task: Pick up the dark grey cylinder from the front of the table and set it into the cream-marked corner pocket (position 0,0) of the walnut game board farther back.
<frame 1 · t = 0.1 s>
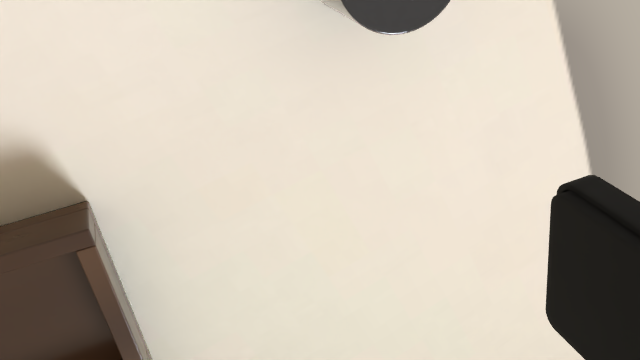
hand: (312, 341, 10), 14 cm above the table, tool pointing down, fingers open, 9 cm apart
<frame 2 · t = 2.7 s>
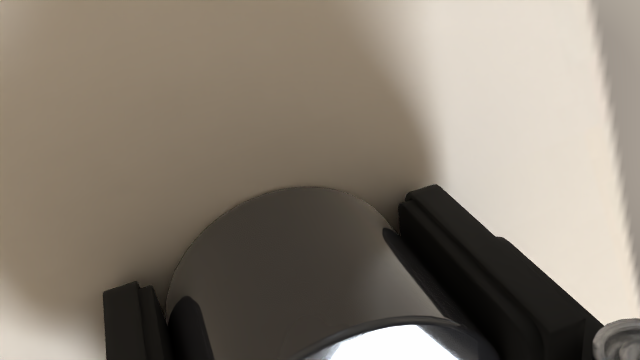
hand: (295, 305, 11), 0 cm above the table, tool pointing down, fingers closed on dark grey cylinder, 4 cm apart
dark grey cylinder: (289, 293, 11), on the table, touching gripper
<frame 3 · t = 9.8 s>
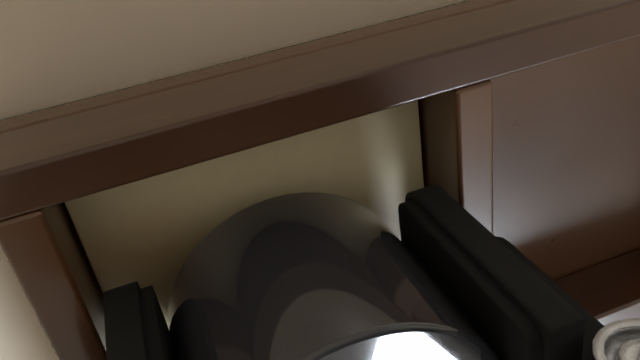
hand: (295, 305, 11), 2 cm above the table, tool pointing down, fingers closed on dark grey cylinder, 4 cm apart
dark grey cylinder: (290, 297, 11), point 2 cm above the table, touching gripper
when the fingers open (3 cm above the table, at t = 18.2 s): dark grey cylinder drops 2 cm, resting on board.
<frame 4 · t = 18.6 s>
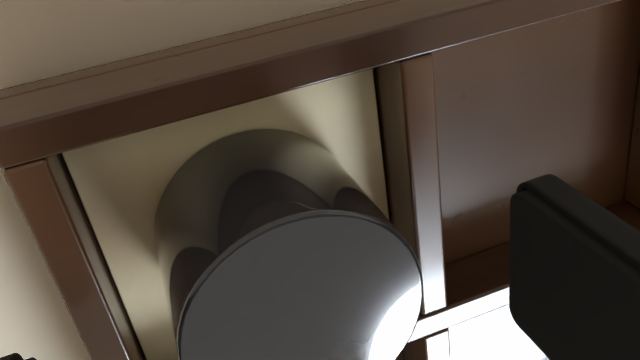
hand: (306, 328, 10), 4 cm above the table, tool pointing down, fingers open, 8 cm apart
dark grey cylinder: (257, 221, 13), point 1 cm above the table, touching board
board: (510, 325, 19), on the table
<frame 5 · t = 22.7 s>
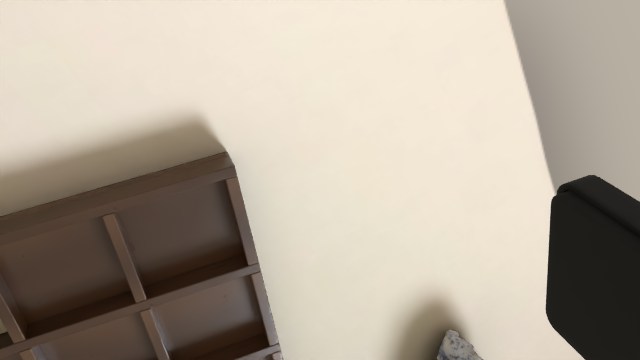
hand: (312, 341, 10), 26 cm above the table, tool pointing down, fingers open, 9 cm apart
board: (102, 345, 40), on the table
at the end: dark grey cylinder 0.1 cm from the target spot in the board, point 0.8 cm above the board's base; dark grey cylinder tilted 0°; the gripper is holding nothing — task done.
